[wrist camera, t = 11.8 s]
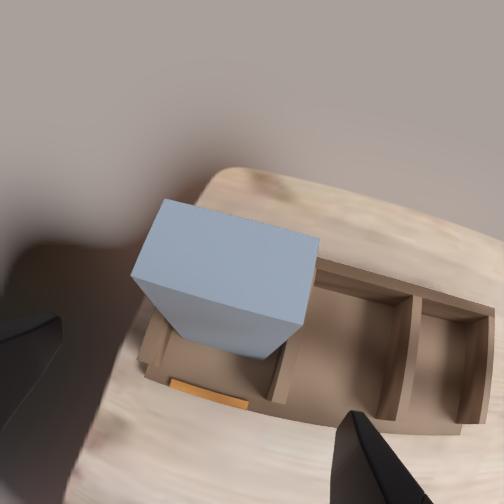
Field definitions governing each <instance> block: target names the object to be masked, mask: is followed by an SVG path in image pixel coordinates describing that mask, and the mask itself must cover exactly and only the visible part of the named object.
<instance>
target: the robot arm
mask: <svg viewBox="0 0 504 504" xmlns="http://www.w3.org/2000/svg"><path fill="white" fill-rule="evenodd" d="M63 339H64V334H63V325H62V319H61V317H60V316H58V315H57V314H54V313H53V312H47V313H43V314H38V315H34V316H30V317H25V318H20V319H16V320H12V321H7V322H3V323H0V433H1V431H2V430H3V428H4V427H5V425H6V424H7V423H8V421H9V420H10V418H11V417H12V415H13V414H14V413H15V411H16V410H17V408H18V407H19V406H20V404H21V403H22V402H23V400H24V399H25V398H26V396H27V395H28V394H29V392H30V391H31V390H32V388H33V387H34V386H35V384H36V383H37V382H38V381H39V379H40V378H41V376H42V375H43V373H44V372H45V370H46V368H47V367H48V365H49V364H50V362H51V360H52V359H53V357H54V356H55V354H56V353H57V351H58V349H59V348H60V346H61V345H62V343H63ZM424 493H425V492H424V491H423V489H422V488H421V487H420V486H419V484H418V483H417V482H416V480H415V479H414V478H413V476H412V475H411V474H410V472H409V471H408V470H407V468H406V467H405V466H404V465H403V463H402V462H401V461H400V459H399V458H398V457H397V455H396V454H395V453H394V451H393V450H392V449H391V447H390V446H389V445H388V444H387V442H386V441H385V440H384V438H383V437H382V436H381V434H380V433H379V432H378V430H377V429H376V428H375V426H374V425H373V424H372V422H371V421H370V420H369V418H368V417H367V416H366V414H365V413H364V412H362V411H355V410H350V411H349V412H348V413H347V414H346V416H345V417H344V419H343V420H342V422H341V423H340V425H339V426H338V428H337V431H336V436H335V445H334V453H333V461H332V469H331V479H330V504H434V503H433V502H432V501H431V500H430V498H429V497H428V496H427V494H424Z"/></svg>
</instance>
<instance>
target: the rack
mask: <svg viewBox="0 0 504 504" xmlns="http://www.w3.org/2000/svg"><path fill="white" fill-rule="evenodd" d="M494 332H495V309H494V308H491V307H488V306H485V305H481V304H478V303H475V302H471V301H468V300H465V299H461V298H458V297H455V296H451V295H448V294H444V293H441V292H438V291H434V290H431V289H427V288H424V287H420V286H417V285H413V284H410V283H407V282H403V281H400V280H396V279H393V278H389V277H386V276H382V275H379V274H375V273H372V272H368V271H365V270H361V269H358V268H354V267H350V266H347V265H343V264H340V263H336V262H333V261H329V260H325V259H322V258H318V257H317V258H316V263H315V269H314V274H313V279H312V284H311V289H310V294H309V299H308V304H307V309H306V313H305V318H304V323H303V326H301V327H300V328H299V329H298V330H297V331H296V332H295V333H294V334H293V335H292V336H290V337H289V338H288V339H287V340H286V341H285V342H284V343H283V344H282V345H280V346H279V347H278V348H277V349H276V350H275V351H274V352H272V353H271V354H270V355H269V356H268V357H267V358H266V359H264V360H263V361H260V360H256V359H252V358H248V357H244V356H240V355H237V354H233V353H230V352H226V351H223V350H219V349H216V348H212V347H209V346H205V345H202V344H199V343H196V342H192V341H189V340H186V339H183V338H182V337H181V335H180V334H179V333H178V332H177V331H176V330H175V329H174V328H173V326H172V325H171V324H170V323H169V322H168V321H167V319H166V318H165V317H164V316H163V315H162V314H161V312H160V311H159V310H158V309H157V308H156V307H155V308H154V311H153V314H152V317H151V319H150V322H149V325H148V328H147V331H146V333H145V336H144V339H143V342H142V345H141V348H140V351H139V354H138V357H137V360H139V361H141V362H144V363H147V364H148V367H147V370H146V373H145V376H144V377H145V378H148V379H150V380H153V381H156V382H158V383H161V384H164V385H166V386H169V387H171V388H174V389H177V390H180V391H183V392H186V393H189V394H192V395H195V396H198V397H202V398H205V399H208V400H211V401H215V402H218V403H222V404H225V405H229V406H232V407H236V408H240V409H244V410H249V411H253V412H257V413H261V414H265V415H270V416H274V417H279V418H283V419H288V420H293V421H299V422H304V423H310V424H315V425H321V426H328V427H335V428H338V426H339V425H340V423H341V422H342V420H343V419H344V417H345V416H346V414H347V413H348V412H349V411H350V410H355V411H362V412H364V413H365V414H366V416H367V417H368V418H369V420H370V421H371V422H372V424H373V425H374V426H375V428H376V429H377V430H378V432H379V433H390V434H406V435H460V433H461V428H462V424H485V422H486V417H487V411H488V404H489V397H490V389H491V380H492V370H493V356H494Z"/></svg>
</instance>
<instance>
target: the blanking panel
mask: <svg viewBox="0 0 504 504" xmlns="http://www.w3.org/2000/svg"><path fill="white" fill-rule="evenodd" d="M319 241H320V238H316V237H313V236H309V235H305V234H302V233H298V232H294V231H291V230H287V229H283V228H279V227H276V226H272V225H268V224H264V223H260V222H257V221H253V220H249V219H245V218H241V217H237V216H233V215H229V214H225V213H222V212H218V211H214V210H210V209H206V208H201V207H197V206H193V205H189V204H185V203H181V202H177V201H172V200H168V199H165V200H164V201H163V204H162V206H161V208H160V210H159V212H158V214H157V216H156V218H155V221H154V223H153V225H152V227H151V229H150V231H149V234H148V236H147V238H146V240H145V243H144V245H143V247H142V249H141V252H140V254H139V256H138V259H137V261H136V263H135V266H134V268H133V271H132V273H131V277H132V278H133V280H134V281H135V282H136V283H137V284H138V286H139V287H140V288H141V289H142V291H143V292H144V293H145V294H146V296H147V297H148V298H149V299H150V301H151V302H152V303H153V304H154V305H155V307H156V308H157V309H158V310H159V311H160V312H161V314H162V315H163V316H164V317H165V318H166V319H167V321H168V322H169V323H170V324H171V325H172V326H173V328H174V329H175V330H176V331H177V332H178V333H179V334H180V335H181V337H182V338H183V339H186V340H189V341H192V342H196V343H199V344H202V345H205V346H209V347H212V348H216V349H219V350H223V351H226V352H230V353H233V354H237V355H240V356H244V357H248V358H252V359H256V360H260V361H263V360H264V359H266V358H267V357H268V356H269V355H270V354H271V353H272V352H274V351H275V350H276V349H277V348H278V347H279V346H280V345H282V344H283V343H284V342H285V341H286V340H287V339H288V338H289V337H290V336H292V335H293V334H294V333H295V332H296V331H297V330H298V329H299V328H300V327H301V326H303V323H304V318H305V313H306V309H307V304H308V299H309V294H310V289H311V284H312V279H313V274H314V269H315V263H316V258H317V252H318V247H319Z"/></svg>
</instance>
